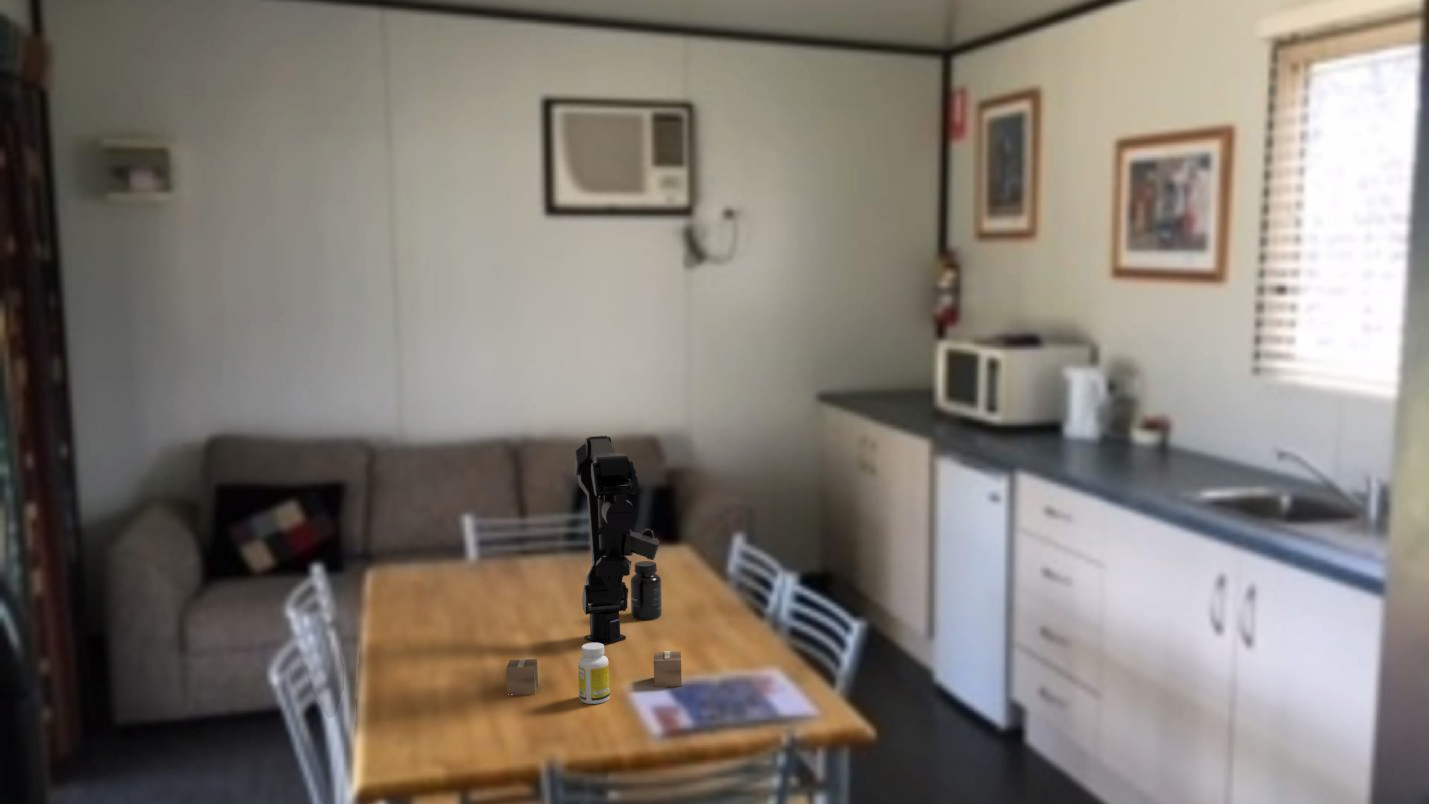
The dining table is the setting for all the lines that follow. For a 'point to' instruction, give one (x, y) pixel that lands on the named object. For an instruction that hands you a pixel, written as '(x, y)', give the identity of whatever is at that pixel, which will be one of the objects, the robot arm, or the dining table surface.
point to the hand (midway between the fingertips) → (616, 601)
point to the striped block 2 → (667, 669)
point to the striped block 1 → (522, 677)
